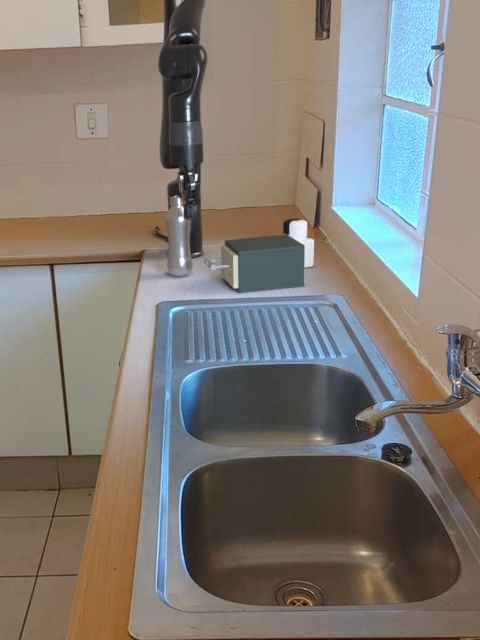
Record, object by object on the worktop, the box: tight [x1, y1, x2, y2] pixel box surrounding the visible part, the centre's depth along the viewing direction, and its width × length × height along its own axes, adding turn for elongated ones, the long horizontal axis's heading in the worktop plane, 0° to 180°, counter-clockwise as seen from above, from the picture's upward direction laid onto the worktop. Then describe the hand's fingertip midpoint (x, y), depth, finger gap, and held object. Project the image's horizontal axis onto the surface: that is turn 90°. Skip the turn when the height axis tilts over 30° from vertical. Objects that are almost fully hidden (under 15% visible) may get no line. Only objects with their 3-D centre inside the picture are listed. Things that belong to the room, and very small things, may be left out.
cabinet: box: [224, 234, 305, 294], centre depth 181 cm, size 16×13×10 cm
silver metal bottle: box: [164, 196, 194, 277], centre depth 190 cm, size 6×7×20 cm
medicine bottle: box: [282, 218, 315, 269], centre depth 193 cm, size 7×7×12 cm
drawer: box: [203, 244, 239, 290], centre depth 181 cm, size 20×12×8 cm, turn 99°
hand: (188, 219), depth 174 cm, fingers closed
